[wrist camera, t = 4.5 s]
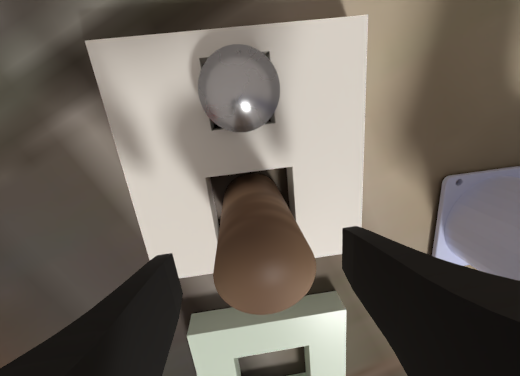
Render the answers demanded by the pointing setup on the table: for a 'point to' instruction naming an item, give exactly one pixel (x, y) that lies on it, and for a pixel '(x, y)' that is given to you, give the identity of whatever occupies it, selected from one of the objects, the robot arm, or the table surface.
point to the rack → (272, 336)
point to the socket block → (234, 143)
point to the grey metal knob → (239, 88)
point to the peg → (260, 249)
